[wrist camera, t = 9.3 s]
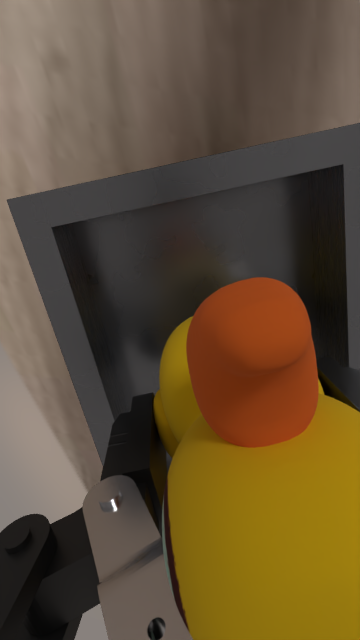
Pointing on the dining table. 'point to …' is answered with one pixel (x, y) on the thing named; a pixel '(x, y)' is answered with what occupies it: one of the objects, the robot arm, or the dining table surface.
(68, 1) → the dining table surface
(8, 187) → the dining table surface
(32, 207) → the gray rectangular tray
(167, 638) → the robot arm
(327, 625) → the duckling
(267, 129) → the dining table surface
